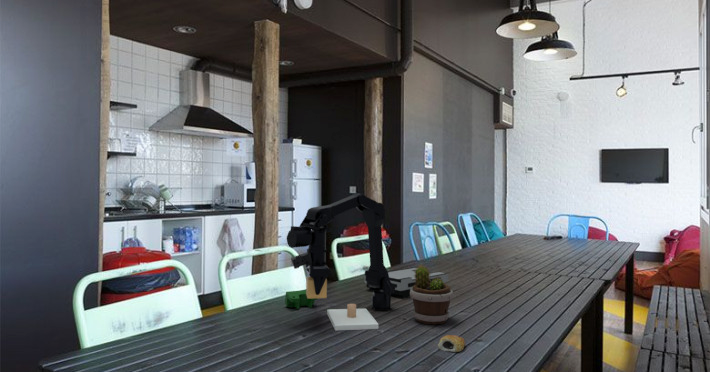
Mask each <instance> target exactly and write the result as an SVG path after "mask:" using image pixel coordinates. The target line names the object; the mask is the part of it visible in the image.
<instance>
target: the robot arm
mask: <svg viewBox="0 0 710 372" xmlns="http://www.w3.org/2000/svg"><path fill="white" fill-rule="evenodd" d="M354 208H356V209H357V210H358V211H360V212H361V214H362V219H363V221H364V222H365V225H366V226H367V234H368V236H367V237H368V248H369V249H368V251H369V267H368V268H367V269H366V270H364V276H365V275H366V279H365V278H364V282H365V281H367V283H366V286H367V285H368V286H369V288H368V289H369V291H371V292H372V294H371V297H370V306H371V309H373V310H374V311H392V310H393V309H392V306H391V303H392V301H391V300H392V299H391V298H392V293H394V291H395V286H394V285H393V284H392V283H391V282H390V279H389V274H388V270H387V267H386V266H385V264H384V248H383V247H384V245H383V232H382V225H383V223H384V221H385V218H386V207H385V204H383V203H382V202H378V201H376V200H374V199H372V198H370V197H368V196H366V195H365V194H363V193H353V194H351V195H349V196H347V197H345V198H342V199H340V200H338V201H335V202H333V203H330V204H327V205H322V206H321V205H319V206H313V207H310V208H308V210H307V212H306V215H305V216H304V217H303V219H302V221H301V223H300V225H299V226H295V225H292V226H290V230H289V231H288V233H287V235H286V242H287V245H288V247H289V248H292V249H293V248H304V247H307V249H306V252H303V253H300V254H298V255H295V256H292V257H291V258H290V260H291V262H292V266H293V269H295V270H296V269H299V268H300V267H303V266H304V267H305V268H306V269H305V270H306V271H307V272H308V277H311V278H312V279H313V281H314V287H315V293H316V295H319V294H320V291H321V289H322V287H323V285H324V282H325V280H326V279H327V278H328V277H329V276H330V268H329V267H328V265H327V261H326V255H327V254H326V253H327V248H326V247H327V245H326V244H327V243H326V242H327V233H331V232H332V229H331V228H330V227H329V226H328V224H330V222H332V221H333V219H334V218H335V217H337V216H339V215H342V214H343V213H345V212H348V211H350V210H353V209H354Z"/></svg>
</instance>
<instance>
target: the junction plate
mask: <svg viewBox="0 0 710 372" xmlns="http://www.w3.org/2000/svg"><path fill="white" fill-rule="evenodd" d="M346 305H347V306H346V307H347V308H340V309H339V308H337V309H326V310H327V311H326V314H327V317H328V319H329V321H330V323H331V325H332V326H333V329H334V331H335V332H336V331H354V330H355V331H358V330H359V331H360V330H378V329H379V323H378V322H377V320H376V319H375V318H374V317H373V315H372V314H371V312H369V310H368V309H367V308H357V304H356V303H347V304H346Z"/></svg>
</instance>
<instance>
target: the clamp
mask: <svg viewBox="0 0 710 372" xmlns="http://www.w3.org/2000/svg"><path fill="white" fill-rule="evenodd" d="M318 300H319V298H311V299H308V298H307V295H306V289H301V290H293V291H292V290H291V291H285V297H284V305H285V306H286V307H287V308H288V307H290V308H295V309H296V310H297V311H298V309H299V310H300V307H309V308H310V309H312V308H313V307H312V306H313V305H314V304H315V303H316V302H315V301H318Z"/></svg>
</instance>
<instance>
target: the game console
mask: <svg viewBox="0 0 710 372" xmlns="http://www.w3.org/2000/svg"><path fill="white" fill-rule="evenodd" d="M417 269H418V267H407V268H401V269H394V270H389V271H388V270H387V271H388V274H389V279H390V282H391V283H392V284H393V285H394V286H395V291H394V293H392V294H391V297H397V298H400V299H405V298H411V297H410V290H411V289H412V288H413V286H414V285H415V284H416V281H415V279H414V278H415V274H416V273H414V271H415V270H417ZM415 272H416V271H415ZM428 272H429V273H430V274H431V275H429V276H430V277H429V278H430V280H429V281H428V282H429V283H431V281H432V280H434V279H435V278H436V279H437V277H438V279H439V278H440V279H441V280H442V281H443V283H445V282H446V283H447V282H449V273H445V272H440V271H438V272H431V271H428ZM413 277H414V278H413ZM434 277H435V278H434ZM365 279H366V275H365V274H364V284H366V288H368V289H369V286H368V285H367V281H365Z"/></svg>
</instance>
